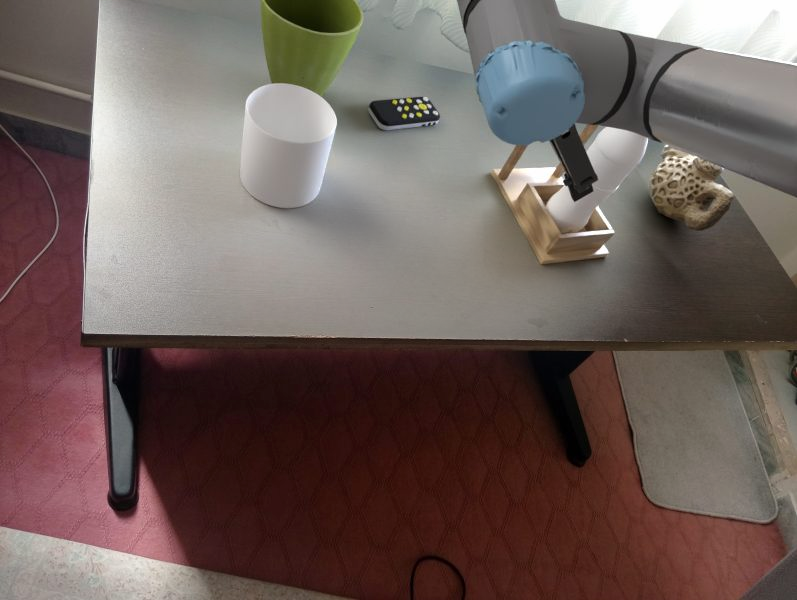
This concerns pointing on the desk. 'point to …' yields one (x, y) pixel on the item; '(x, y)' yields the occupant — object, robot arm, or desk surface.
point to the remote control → (403, 113)
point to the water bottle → (599, 177)
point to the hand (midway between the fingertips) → (557, 157)
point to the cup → (285, 144)
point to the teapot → (689, 189)
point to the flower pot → (308, 39)
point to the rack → (528, 205)
